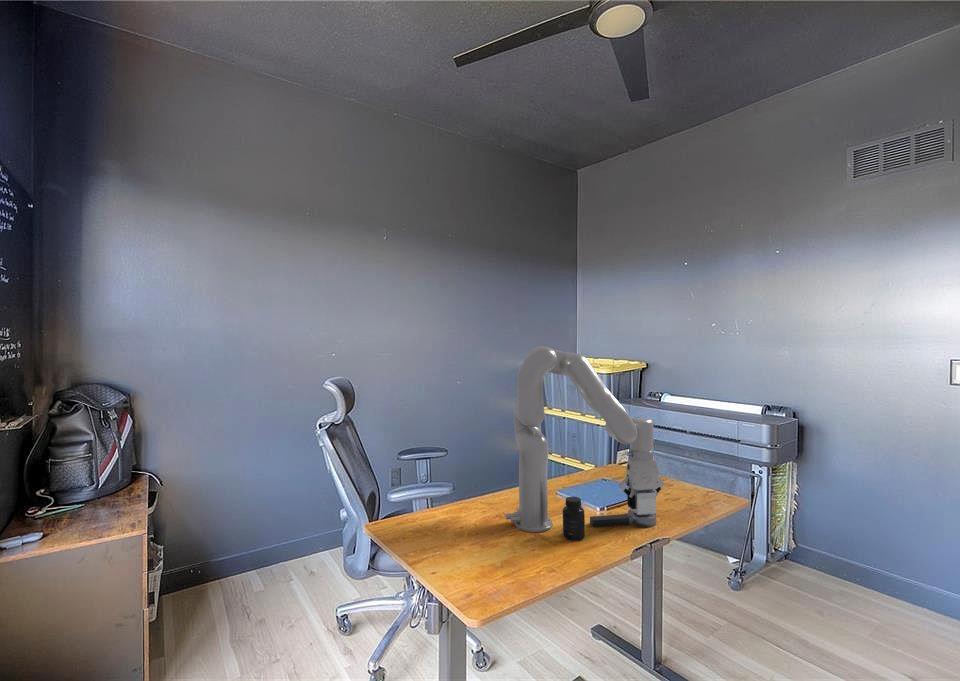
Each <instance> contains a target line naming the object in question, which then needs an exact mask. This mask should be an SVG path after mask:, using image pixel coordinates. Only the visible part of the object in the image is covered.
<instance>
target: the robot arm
mask: <svg viewBox="0 0 960 681" xmlns="http://www.w3.org/2000/svg"><path fill="white" fill-rule="evenodd" d="M548 373H550V374H555V375H561V376H564V377H568V378H569V380H570V381H571V382H572V384H573V385H574V387H575V388H576V390H577V391H578V393H579V394H580V396H581V397H582V399H583V400H584V401H585V403H586V404H587V405H588V406H589V407H590V408H591V409H592V410H594V411H595V412H596V413H597V414H598V415H599V416H600V418H601V419H602V420H603V421H604V422H605V423H604V429H605V432H606V434H607V435H608V436H609V437H610V438H612V439H614V440H616V441H617V442H618V443H620V444H622V445H629V451H627V452H626V456H627V457H628V459H627V463H626V470H625V478H624V479H623V480H622V481H621V482H619V484H618V486H619V487H620V489H621V490H622V492H624V493H625V495H626V496H627V507H628V506H629V507H630V508H631V509H635V498H634V497H633V495H634V492H635V491H636V490H653V491H655V492H656V497H657V496H658V494H659V492H661V490H662V488H663V487H664V486H665V482H664V481H663V480H661V478H659V468H658V464H657V463H658V462H657V459H656V458H654V422H653V420H652V419H651V418H647V417H633V418H632V417H630V416H631V415H630V414H628V412H627V411H626V410H625V408H624V406H622V404H621V403H620V402H619V401H618V399H617V398H616V397H615V396H614V394H613V393H612V392H611V391H610V390H609V389H608V387H607V386H606V384H605V383H604V382H603V380H602V379H601V377H600V376H599V375H598V373H597V371H596V370H595V368H594V367H593V366H592V364H591V363H590V361H589V360H588V359H587V357H586V356H584V355H583V354H581V353H575V352H570V351H569V352H567V351H562V350H557V349H553V348H551V347H548V346H540V345H539V346H534V347H533V348H532V349H531V350H530V351H529V352H528V355H527V357H526V358H525V359H524V361H523V362H522V364H521V366H520V367H519V369H518V373H517V379H516V381H517V382H516V388H517V390H516V392H517V400H516V401H515V402H514V406H513V423H514V424H513V425H514V439H515V443H516V446H517V448H518V450H519V452H518V453H519V460H518V508H517V509H516V511H515V512H514V513H513V512H512V513H509V512H508V513H505V514H504V518H505V520H506V521H507V520H510V522H513V523H514V526H515V527H516V528H517V529H519V530H521V531H524V532H529V533H541V532H546V531H548V530H550V529H552V527H553V520H552V519H551V518H549V517H548V516H549V515H548V514H549V513H548V511H549V510H548V507H549V506H548V503H549V502H548V496H549V495H548V492H549V491H548V465H549V463H548V462H549V454H550V448H549V443H548V440H547V438H546V437H545V435H544V434H543V433H542V423H543V421H544V418H545V406H544V392H543V388H544V387H543V386H544V385H543V384H544V379H545V377H546V375H547V374H548ZM626 486H627V487H628V489H627V488H626Z"/></svg>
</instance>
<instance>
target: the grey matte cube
mask: <svg viewBox="0 0 960 681" xmlns="http://www.w3.org/2000/svg"><path fill="white" fill-rule="evenodd" d="M628 487H629V486H627V488H626V489H628ZM633 497H634V498H635V509H631V508H630V507H629V506H628V505H627V508H628V509H629V510H630V509H631V510H632V511H633V512H634V513H636V514H637V515H641V514H654V513H656V514H657V496H656V492H655V491H653V490H636V491H635V492H634V495H633Z"/></svg>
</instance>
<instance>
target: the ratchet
mask: <svg viewBox="0 0 960 681" xmlns="http://www.w3.org/2000/svg"><path fill="white" fill-rule="evenodd" d="M589 524H590V526H591V527H593V528H606V527H619V526H621V527H622V526H635V527H640V528H653V527H655V526H657V512H656V513H654V514H641V515H637V514H636V513H634V512H633V511H632V510H631V509H629V510H628V511H627V512H626V513H625V512H624V513H623V514H608V515H607V514H606V515H594V516H593V515H592V516H589Z"/></svg>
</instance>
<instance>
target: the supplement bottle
mask: <svg viewBox="0 0 960 681" xmlns="http://www.w3.org/2000/svg"><path fill="white" fill-rule="evenodd" d="M564 505H565V506H564V507H562V535H563V536H562V537H564V539H566V540H568V541H570V542H571V541H572V542H580V541H582V540H584V539H585V537H586V531H585V530H586V527H585V524H586V523H585V522H586V520H585V509H584V508H583V507H582V499H581V498H580V497H578V496H567V497H566V498H565V503H564Z"/></svg>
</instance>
